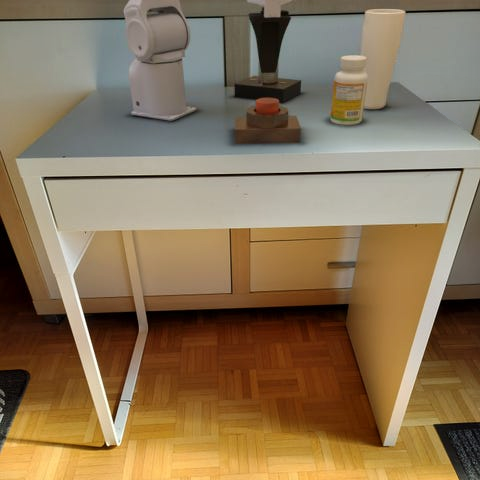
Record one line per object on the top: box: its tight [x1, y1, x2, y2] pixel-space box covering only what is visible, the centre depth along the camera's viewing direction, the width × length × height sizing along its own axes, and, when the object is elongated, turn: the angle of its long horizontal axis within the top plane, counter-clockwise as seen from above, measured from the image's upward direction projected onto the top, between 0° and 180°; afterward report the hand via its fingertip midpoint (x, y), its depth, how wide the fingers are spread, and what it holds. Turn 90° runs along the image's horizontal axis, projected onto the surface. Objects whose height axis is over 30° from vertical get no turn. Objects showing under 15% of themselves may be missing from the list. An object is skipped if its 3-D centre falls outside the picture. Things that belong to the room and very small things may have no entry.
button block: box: [234, 104, 302, 145], centre depth 72 cm, size 10×7×4 cm
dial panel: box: [234, 75, 302, 104], centre depth 93 cm, size 11×8×3 cm
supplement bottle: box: [330, 54, 368, 126], centre depth 76 cm, size 5×5×10 cm
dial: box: [257, 61, 280, 84], centre depth 91 cm, size 4×4×4 cm
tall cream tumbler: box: [359, 8, 406, 110], centre depth 81 cm, size 7×7×15 cm
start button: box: [255, 98, 280, 114], centre depth 70 cm, size 4×4×2 cm
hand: (267, 70), depth 67 cm, fingers closed
